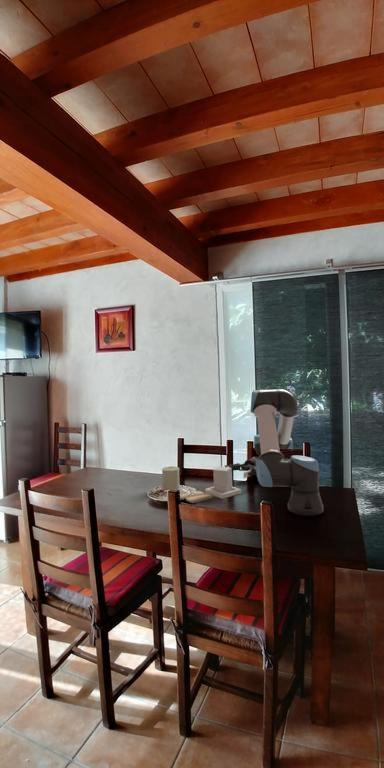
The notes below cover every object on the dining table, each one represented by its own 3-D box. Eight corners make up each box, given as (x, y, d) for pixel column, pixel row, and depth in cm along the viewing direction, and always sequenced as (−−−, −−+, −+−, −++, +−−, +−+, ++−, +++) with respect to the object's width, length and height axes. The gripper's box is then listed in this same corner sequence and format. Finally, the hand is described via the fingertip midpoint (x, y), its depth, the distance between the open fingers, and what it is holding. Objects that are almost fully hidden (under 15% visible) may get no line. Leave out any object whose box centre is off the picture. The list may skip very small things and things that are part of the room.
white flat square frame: (241, 493, 200) (241, 489, 200) (222, 498, 193) (222, 494, 193) (224, 487, 211) (224, 483, 211) (205, 492, 203) (205, 488, 203)
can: (181, 487, 213) (180, 465, 213) (178, 492, 204) (178, 469, 203) (164, 487, 214) (163, 465, 214) (161, 492, 205) (160, 469, 204)
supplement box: (232, 491, 203) (232, 467, 203) (226, 496, 197) (226, 470, 196) (220, 490, 207) (219, 466, 206) (213, 494, 200) (212, 469, 200)
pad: (212, 497, 195) (212, 495, 195) (192, 503, 187) (192, 501, 187) (197, 492, 204) (197, 490, 204) (178, 497, 197) (178, 495, 197)
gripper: (272, 474, 218) (254, 484, 202) (234, 468, 234) (213, 477, 217) (272, 461, 218) (253, 469, 201) (233, 456, 233) (213, 463, 217)
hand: (232, 473), depth 209 cm, fingers open, 13 cm apart
